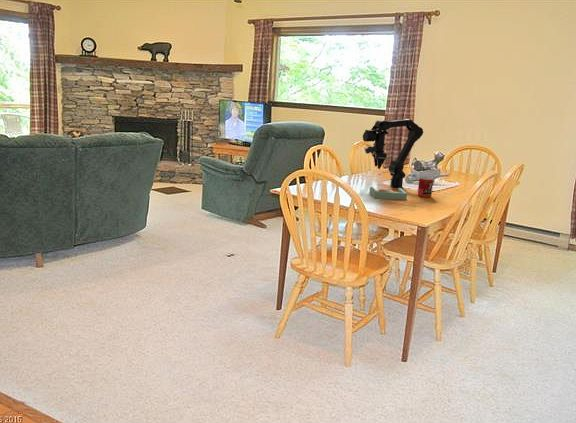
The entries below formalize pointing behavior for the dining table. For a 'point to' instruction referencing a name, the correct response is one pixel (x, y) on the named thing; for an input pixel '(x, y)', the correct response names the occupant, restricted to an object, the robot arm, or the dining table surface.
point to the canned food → (425, 186)
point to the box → (389, 194)
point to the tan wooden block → (385, 190)
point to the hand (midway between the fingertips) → (377, 167)
